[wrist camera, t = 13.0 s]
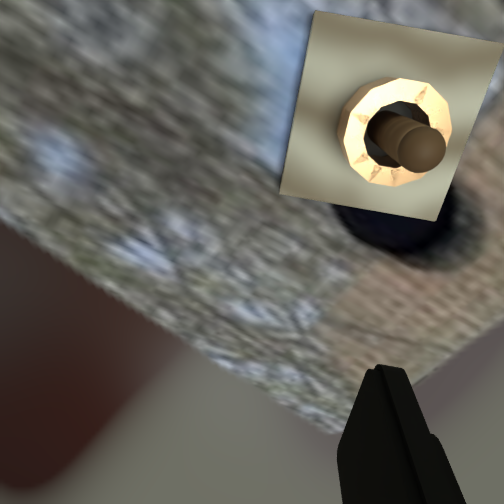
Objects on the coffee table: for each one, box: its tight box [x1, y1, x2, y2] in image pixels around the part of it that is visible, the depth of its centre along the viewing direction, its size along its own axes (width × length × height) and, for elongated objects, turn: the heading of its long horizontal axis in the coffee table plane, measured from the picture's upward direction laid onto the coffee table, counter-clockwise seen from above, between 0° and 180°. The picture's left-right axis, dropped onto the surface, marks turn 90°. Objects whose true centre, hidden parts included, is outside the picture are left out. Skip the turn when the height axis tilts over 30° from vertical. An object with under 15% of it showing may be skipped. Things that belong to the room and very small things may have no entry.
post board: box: [279, 10, 504, 221], centre depth 27 cm, size 14×14×13 cm
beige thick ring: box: [337, 77, 452, 187], centre depth 29 cm, size 7×7×4 cm
